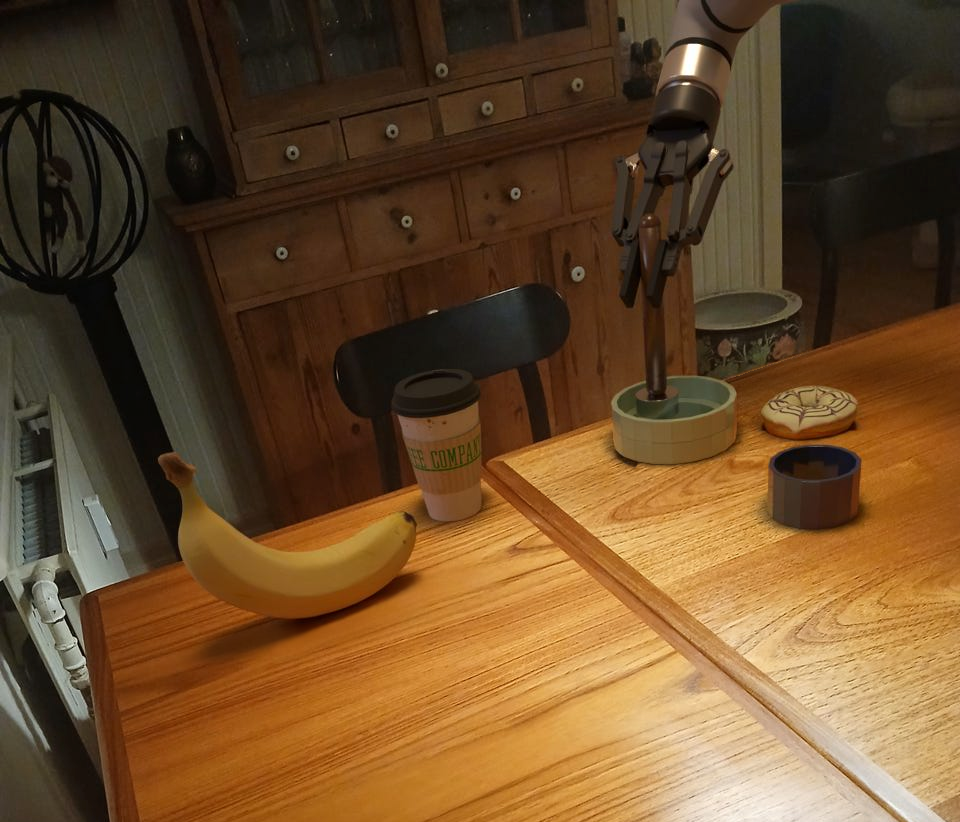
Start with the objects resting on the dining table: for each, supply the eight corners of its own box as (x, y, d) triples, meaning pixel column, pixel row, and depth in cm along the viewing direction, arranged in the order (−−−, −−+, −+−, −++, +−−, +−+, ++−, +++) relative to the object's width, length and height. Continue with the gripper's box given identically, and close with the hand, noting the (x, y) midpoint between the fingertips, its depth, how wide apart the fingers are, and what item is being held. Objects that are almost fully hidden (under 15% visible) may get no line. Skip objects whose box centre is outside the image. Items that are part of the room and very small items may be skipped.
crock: (858, 498, 102) (862, 444, 98) (855, 538, 95) (859, 482, 92) (772, 496, 105) (773, 444, 101) (763, 535, 98) (764, 481, 95)
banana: (414, 560, 104) (376, 378, 93) (436, 582, 100) (399, 393, 89) (208, 636, 97) (140, 449, 86) (222, 663, 93) (153, 469, 82)
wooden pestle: (682, 403, 119) (676, 206, 106) (674, 420, 115) (668, 217, 102) (641, 404, 120) (631, 209, 108) (632, 420, 117) (621, 221, 104)
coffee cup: (405, 531, 110) (379, 404, 102) (421, 492, 118) (398, 371, 110) (491, 526, 108) (472, 395, 100) (502, 487, 116) (484, 362, 108)
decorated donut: (743, 426, 121) (743, 397, 118) (817, 404, 123) (818, 374, 121) (797, 453, 112) (798, 422, 110) (874, 428, 115) (877, 397, 113)
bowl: (743, 421, 122) (743, 374, 119) (727, 471, 111) (726, 421, 108) (628, 421, 127) (625, 376, 124) (602, 469, 116) (598, 422, 113)
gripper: (763, 120, 109) (716, 319, 107) (632, 131, 116) (586, 317, 114) (750, 73, 102) (699, 284, 100) (612, 87, 109) (562, 284, 107)
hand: (639, 301), depth 107 cm, fingers closed on wooden pestle, 2 cm apart
